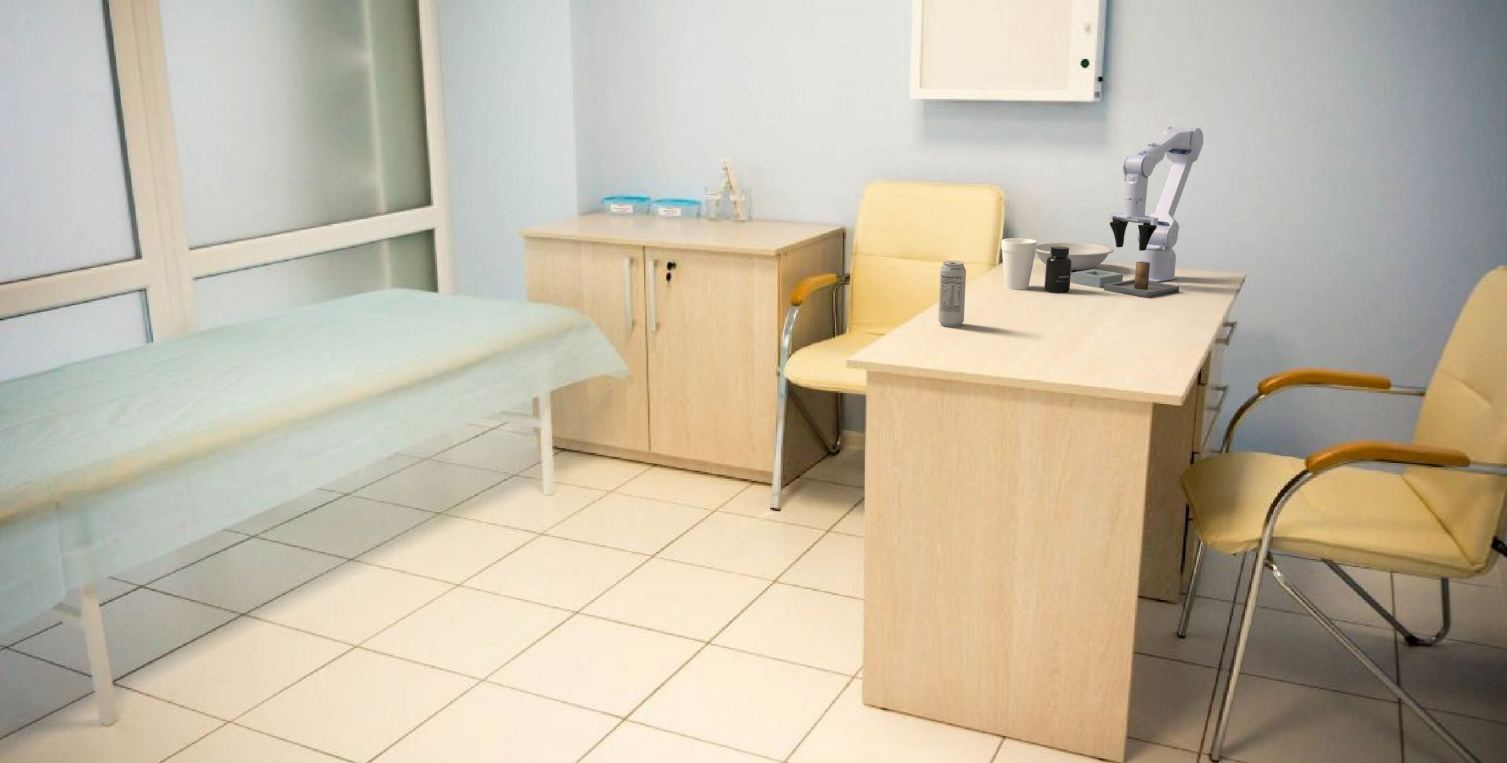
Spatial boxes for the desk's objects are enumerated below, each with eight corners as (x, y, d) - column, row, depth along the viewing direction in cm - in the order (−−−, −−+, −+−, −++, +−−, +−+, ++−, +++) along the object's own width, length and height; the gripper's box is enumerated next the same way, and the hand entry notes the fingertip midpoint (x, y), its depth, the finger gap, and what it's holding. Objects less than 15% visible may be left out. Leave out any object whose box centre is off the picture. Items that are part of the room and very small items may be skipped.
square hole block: (1093, 278, 357) (1094, 269, 356) (1122, 283, 349) (1123, 273, 348) (1070, 282, 351) (1071, 272, 350) (1099, 287, 343) (1100, 277, 343)
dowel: (1139, 286, 341) (1141, 261, 339) (1150, 288, 338) (1152, 262, 336) (1131, 287, 339) (1133, 262, 337) (1142, 289, 336) (1144, 264, 334)
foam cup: (1032, 284, 348) (1034, 238, 344) (1036, 291, 339) (1038, 243, 336) (997, 284, 349) (1000, 238, 345) (1000, 290, 340) (1003, 243, 337)
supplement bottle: (1063, 294, 334) (1066, 250, 331) (1040, 291, 338) (1042, 247, 335) (1074, 290, 340) (1076, 246, 337) (1050, 287, 344) (1053, 244, 341)
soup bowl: (1013, 266, 378) (1014, 244, 376) (1076, 260, 387) (1078, 239, 386) (1064, 279, 356) (1065, 256, 355) (1129, 273, 366) (1131, 250, 365)
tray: (1135, 284, 348) (1136, 278, 348) (1178, 292, 337) (1179, 286, 337) (1103, 290, 340) (1104, 284, 340) (1146, 298, 329) (1147, 292, 329)
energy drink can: (967, 323, 299) (970, 262, 295) (958, 328, 294) (960, 265, 290) (943, 321, 302) (946, 259, 298) (934, 325, 297) (936, 263, 293)
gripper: (1104, 197, 343) (1100, 246, 347) (1148, 202, 332) (1144, 253, 335) (1120, 196, 347) (1116, 244, 351) (1164, 201, 336) (1160, 251, 339)
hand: (1130, 248), depth 343 cm, fingers open, 7 cm apart
